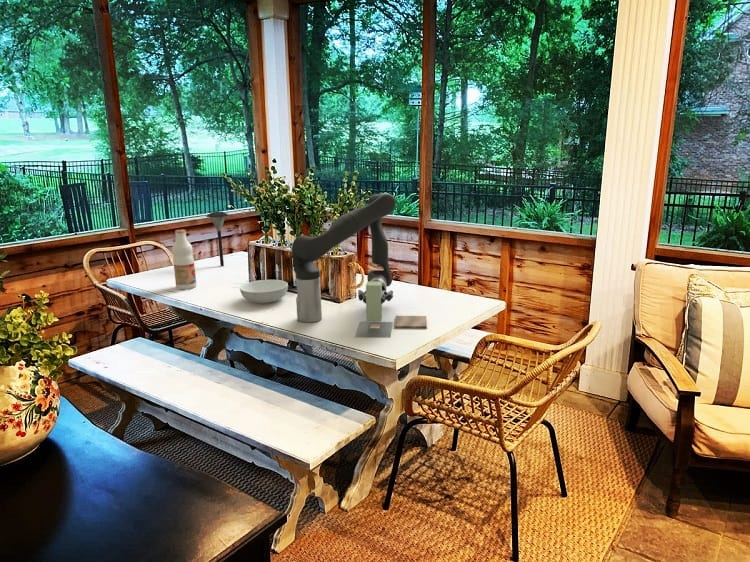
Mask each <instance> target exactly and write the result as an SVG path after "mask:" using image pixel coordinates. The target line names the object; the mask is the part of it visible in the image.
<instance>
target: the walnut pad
mask: <svg viewBox="0 0 750 562" xmlns="http://www.w3.org/2000/svg"><path fill="white" fill-rule="evenodd" d="M427 328H428V327H427V316H426V315H395V320H394V329H416V330H417V329H421V330H422V329H425V330H426V329H427Z"/></svg>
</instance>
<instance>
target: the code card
mask: <svg viewBox="0 0 750 562" xmlns="http://www.w3.org/2000/svg"><path fill="white" fill-rule="evenodd" d="M392 331H393V321H381V322H377V321H359V322H358V326H357V329H356V333H355V336H354V338H369V339H370V338H373V339H377V338H378V339H379V338H380V339H382V338H384V339H391V338H392Z"/></svg>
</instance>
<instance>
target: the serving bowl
mask: <svg viewBox="0 0 750 562" xmlns="http://www.w3.org/2000/svg"><path fill="white" fill-rule="evenodd" d="M288 288H289V285H288V282H287V281H284V280H280V279H259V280H254V281H249V282H247V283H244V284H242V285H241V286H240V287H239V291H240V294H241V295H242V297H243V298H244V299H245V300H246V301H248V302H252V303H256V304H257V303H258V304H269V302H270V303H273V302H275V301H279V300H280V299H282V298H284V297H285V296H286V294H287V291H288V290H289V289H288Z"/></svg>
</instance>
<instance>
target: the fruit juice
mask: <svg viewBox="0 0 750 562" xmlns="http://www.w3.org/2000/svg"><path fill="white" fill-rule="evenodd" d="M174 233H175V234H174V235H175V241H174V243H173V244H172V247H171V249H172V250H171V251H172V254H173V261H172V263H173V272H174V279H175V286H176V287H175V288H176V289H177V290H180V289H187V290H191V288H192V289H194V288H196V287H197V278H196V268H195V267H196V266H195V259H194V256H193V246H192V244H191V242H189V240H188V237H187V235H186V234H187V230H186V229H175V230H174Z"/></svg>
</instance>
